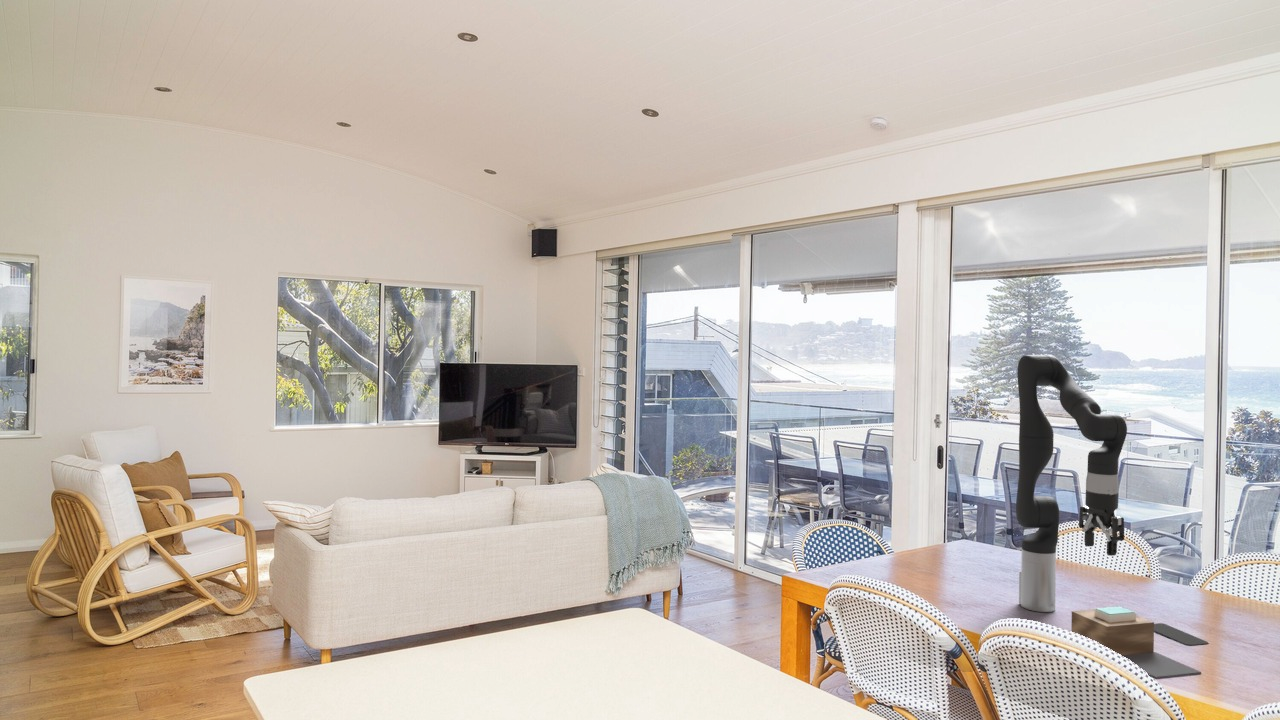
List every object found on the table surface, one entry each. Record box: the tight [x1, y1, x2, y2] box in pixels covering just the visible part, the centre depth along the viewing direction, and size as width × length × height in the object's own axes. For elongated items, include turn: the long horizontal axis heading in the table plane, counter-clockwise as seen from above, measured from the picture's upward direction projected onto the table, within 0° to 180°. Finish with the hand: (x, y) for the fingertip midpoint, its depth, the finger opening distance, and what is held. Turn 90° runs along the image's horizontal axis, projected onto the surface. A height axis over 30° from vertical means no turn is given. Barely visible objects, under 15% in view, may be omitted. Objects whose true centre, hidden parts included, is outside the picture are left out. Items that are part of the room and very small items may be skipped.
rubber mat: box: [1122, 651, 1202, 680], centre depth 199 cm, size 13×13×1 cm
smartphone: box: [1154, 622, 1209, 647], centre depth 220 cm, size 7×1×15 cm
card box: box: [1094, 605, 1137, 622], centre depth 210 cm, size 5×8×2 cm, turn 103°
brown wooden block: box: [1070, 608, 1155, 655], centre depth 211 cm, size 12×14×8 cm
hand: (1100, 550), depth 216 cm, fingers open, 8 cm apart
